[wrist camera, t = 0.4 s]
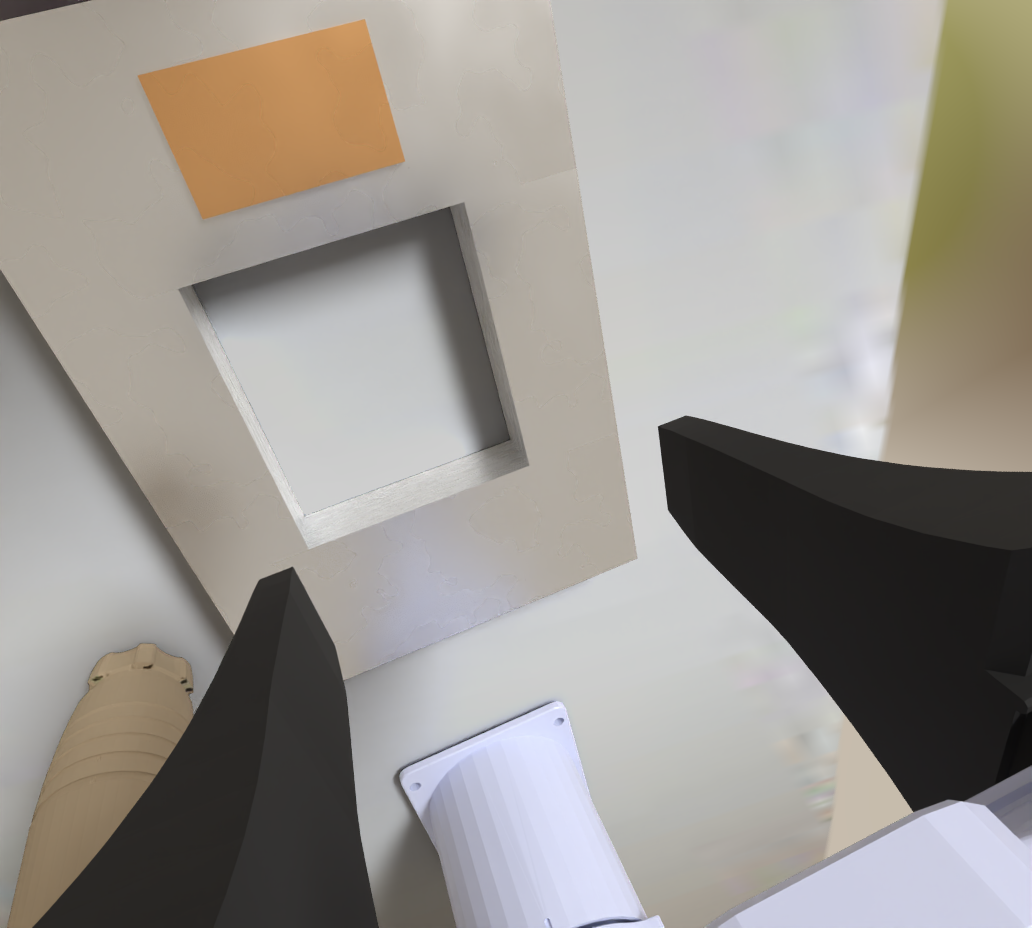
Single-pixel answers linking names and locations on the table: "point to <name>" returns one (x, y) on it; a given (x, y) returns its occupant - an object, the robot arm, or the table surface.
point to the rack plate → (301, 226)
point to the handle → (101, 769)
